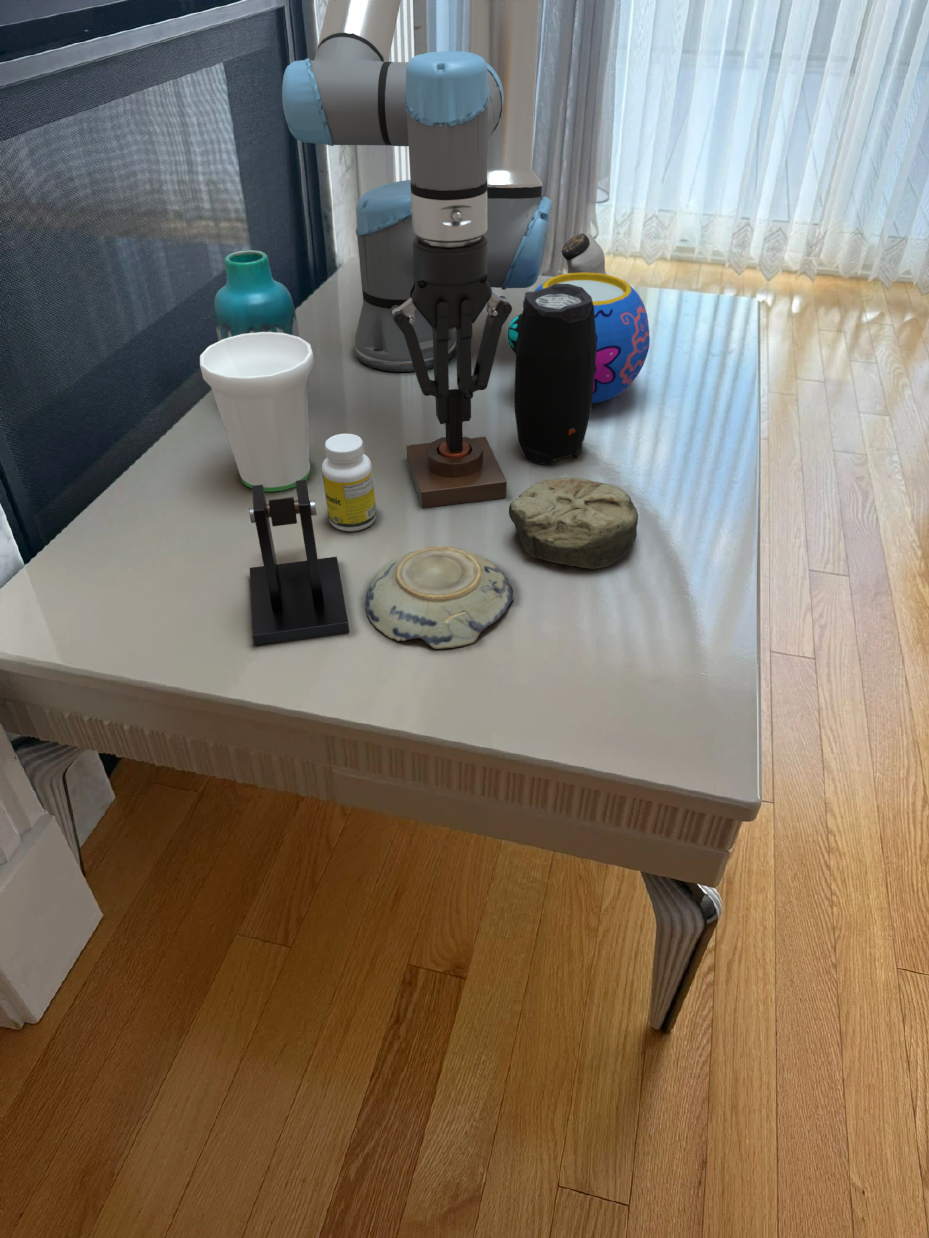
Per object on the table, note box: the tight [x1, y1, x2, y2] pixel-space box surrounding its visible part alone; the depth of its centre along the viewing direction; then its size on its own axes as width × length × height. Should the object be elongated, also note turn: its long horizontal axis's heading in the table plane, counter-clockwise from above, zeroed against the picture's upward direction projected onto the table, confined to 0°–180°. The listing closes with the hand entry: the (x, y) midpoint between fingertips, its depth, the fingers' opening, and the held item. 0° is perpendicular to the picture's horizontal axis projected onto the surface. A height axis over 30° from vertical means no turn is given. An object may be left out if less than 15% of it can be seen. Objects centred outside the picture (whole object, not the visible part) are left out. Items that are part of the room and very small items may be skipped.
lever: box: [266, 496, 300, 527], centre depth 87 cm, size 12×5×2 cm
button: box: [439, 442, 470, 459], centre depth 106 cm, size 4×4×2 cm
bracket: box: [248, 480, 350, 647], centre depth 86 cm, size 11×9×13 cm
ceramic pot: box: [506, 272, 651, 405], centre depth 120 cm, size 18×18×15 cm
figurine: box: [561, 233, 608, 275], centre depth 135 cm, size 9×10×15 cm
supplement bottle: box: [321, 433, 377, 532], centre depth 98 cm, size 5×5×10 cm
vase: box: [213, 249, 300, 342], centre depth 119 cm, size 11×11×19 cm
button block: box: [405, 436, 507, 509], centre depth 107 cm, size 11×10×4 cm
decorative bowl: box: [364, 546, 515, 650], centre depth 89 cm, size 15×4×15 cm
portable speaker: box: [513, 284, 597, 466], centre depth 107 cm, size 9×9×20 cm
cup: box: [199, 332, 315, 493], centre depth 104 cm, size 12×12×15 cm
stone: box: [508, 477, 639, 570], centre depth 97 cm, size 13×13×5 cm
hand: (454, 446), depth 105 cm, fingers closed
